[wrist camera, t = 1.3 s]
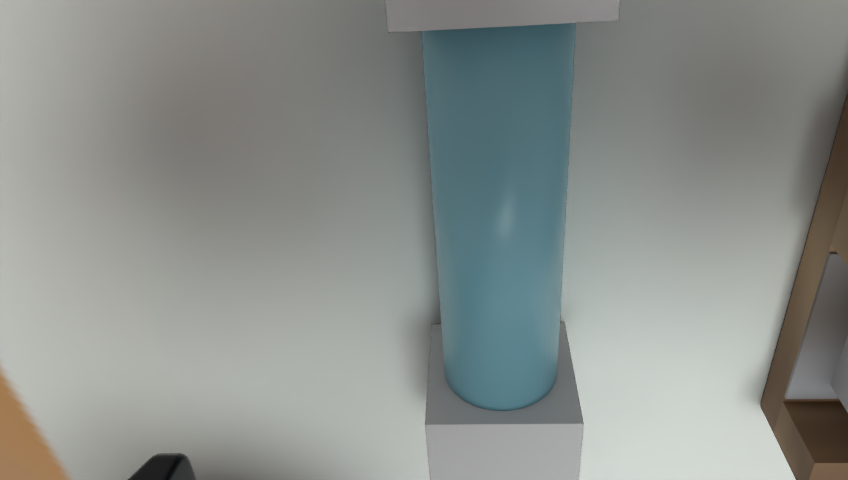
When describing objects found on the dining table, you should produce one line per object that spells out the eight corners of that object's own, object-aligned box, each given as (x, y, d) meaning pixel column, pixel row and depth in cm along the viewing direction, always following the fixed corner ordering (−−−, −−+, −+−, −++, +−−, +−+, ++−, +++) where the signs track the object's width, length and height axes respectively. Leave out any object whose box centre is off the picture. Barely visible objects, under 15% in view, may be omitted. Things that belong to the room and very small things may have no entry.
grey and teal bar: (559, 400, 20) (576, 507, 17) (437, 401, 20) (432, 506, 17) (594, -209, 12) (638, -211, 9) (391, -193, 12) (367, -189, 9)
